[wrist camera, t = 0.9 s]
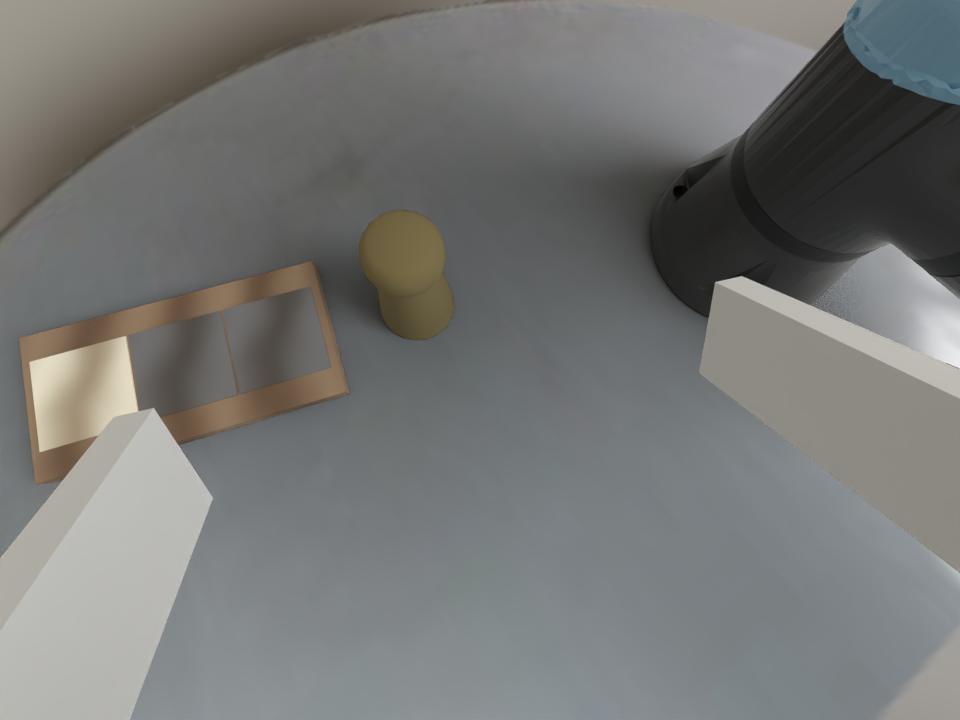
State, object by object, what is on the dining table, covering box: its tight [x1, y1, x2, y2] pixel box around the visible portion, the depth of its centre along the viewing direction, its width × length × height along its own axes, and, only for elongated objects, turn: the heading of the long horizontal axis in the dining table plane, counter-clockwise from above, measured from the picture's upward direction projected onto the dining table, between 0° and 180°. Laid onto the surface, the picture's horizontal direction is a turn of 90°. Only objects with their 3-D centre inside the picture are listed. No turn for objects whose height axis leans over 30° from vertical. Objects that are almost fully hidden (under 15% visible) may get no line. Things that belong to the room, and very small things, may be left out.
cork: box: [359, 210, 454, 340], centre depth 30 cm, size 6×6×11 cm
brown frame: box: [19, 261, 350, 484], centre depth 33 cm, size 22×11×1 cm, turn 108°
